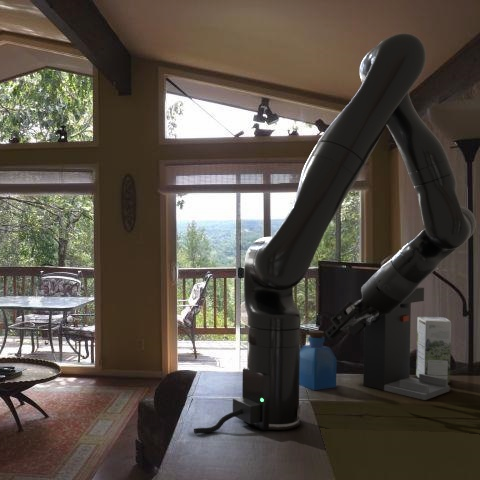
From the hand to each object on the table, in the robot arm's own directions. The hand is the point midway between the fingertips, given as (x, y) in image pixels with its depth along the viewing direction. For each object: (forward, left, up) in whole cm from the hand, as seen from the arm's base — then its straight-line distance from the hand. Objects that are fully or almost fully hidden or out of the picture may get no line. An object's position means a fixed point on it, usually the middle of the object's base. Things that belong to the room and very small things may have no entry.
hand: (339, 334), depth 123 cm
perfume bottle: (-1, +6, -12) cm, 14 cm away
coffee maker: (+15, -5, -12) cm, 20 cm away
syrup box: (+27, -3, -12) cm, 30 cm away
